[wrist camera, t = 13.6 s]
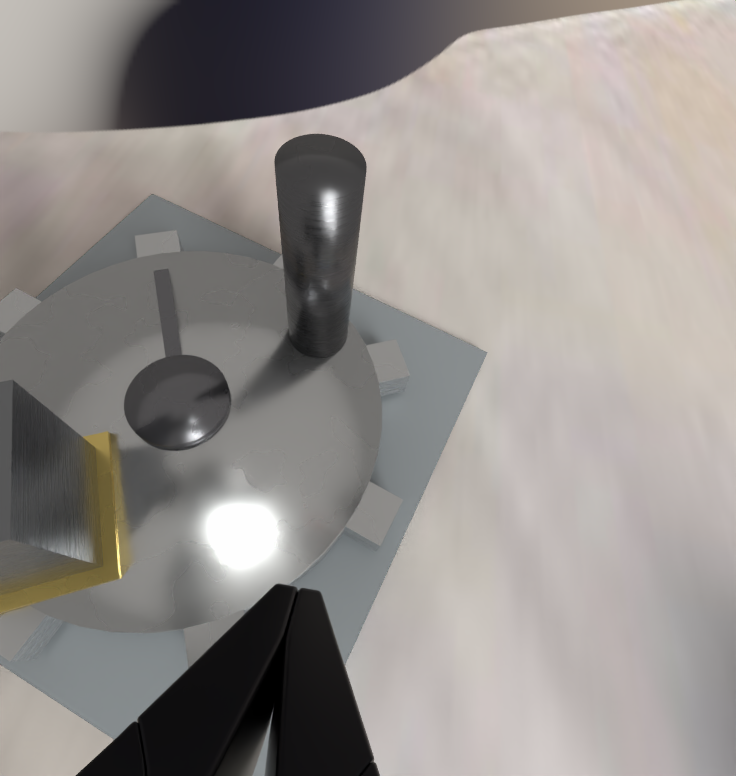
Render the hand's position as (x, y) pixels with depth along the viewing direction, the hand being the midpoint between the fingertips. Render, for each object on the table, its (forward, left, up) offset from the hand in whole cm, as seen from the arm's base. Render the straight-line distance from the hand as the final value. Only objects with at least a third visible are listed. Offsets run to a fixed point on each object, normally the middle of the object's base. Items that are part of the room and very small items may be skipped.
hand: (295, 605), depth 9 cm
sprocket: (+4, +8, -9) cm, 12 cm away
